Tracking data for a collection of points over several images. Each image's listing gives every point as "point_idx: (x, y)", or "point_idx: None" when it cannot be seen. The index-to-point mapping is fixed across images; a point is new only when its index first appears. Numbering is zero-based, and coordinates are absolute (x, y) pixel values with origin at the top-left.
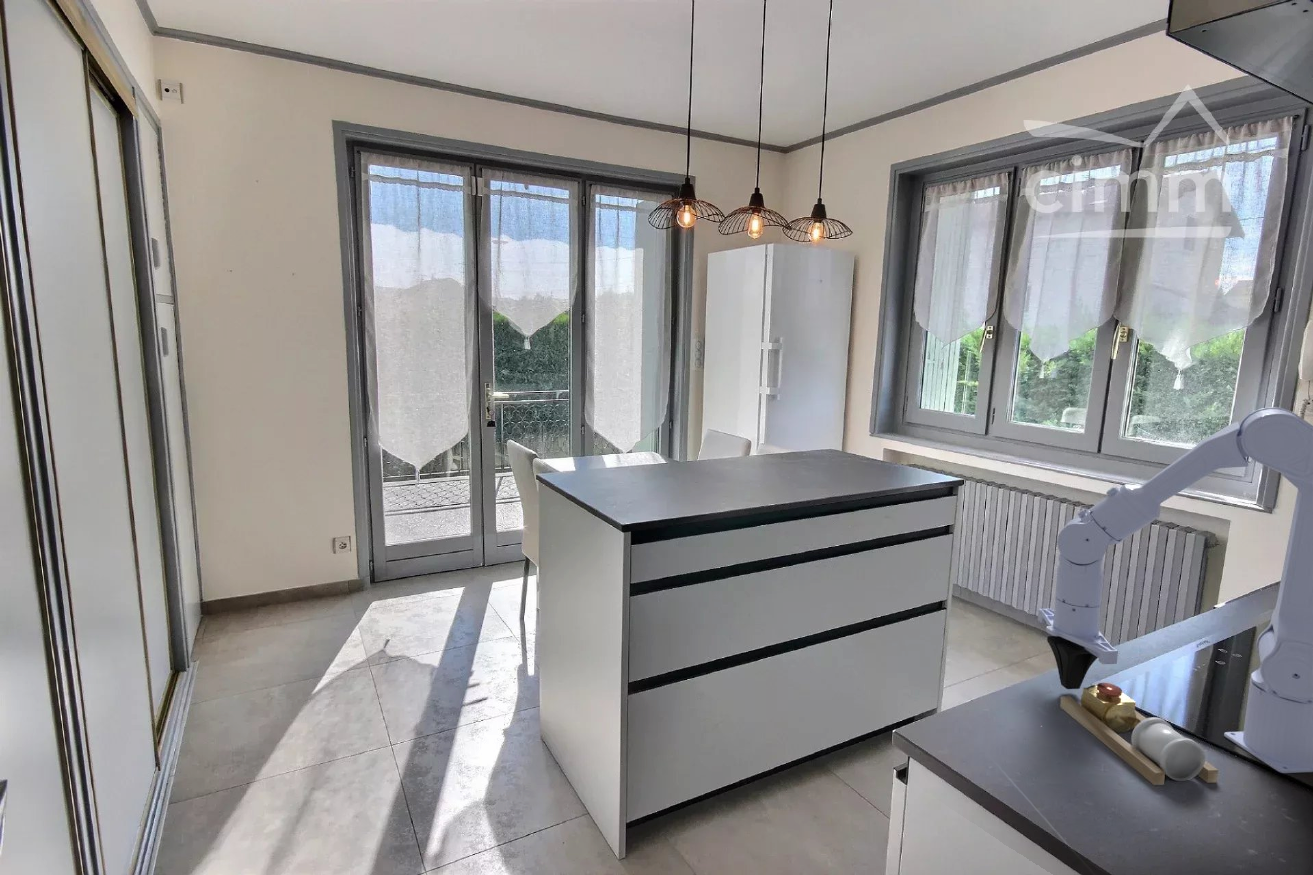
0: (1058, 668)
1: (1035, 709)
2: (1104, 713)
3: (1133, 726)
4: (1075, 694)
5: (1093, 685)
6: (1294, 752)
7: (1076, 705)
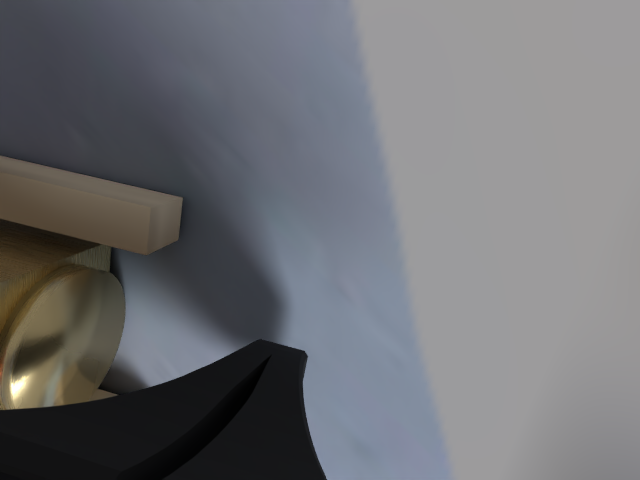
0: (290, 389)
1: (202, 54)
2: None
3: None
4: None
5: (16, 374)
6: None
7: (59, 209)
